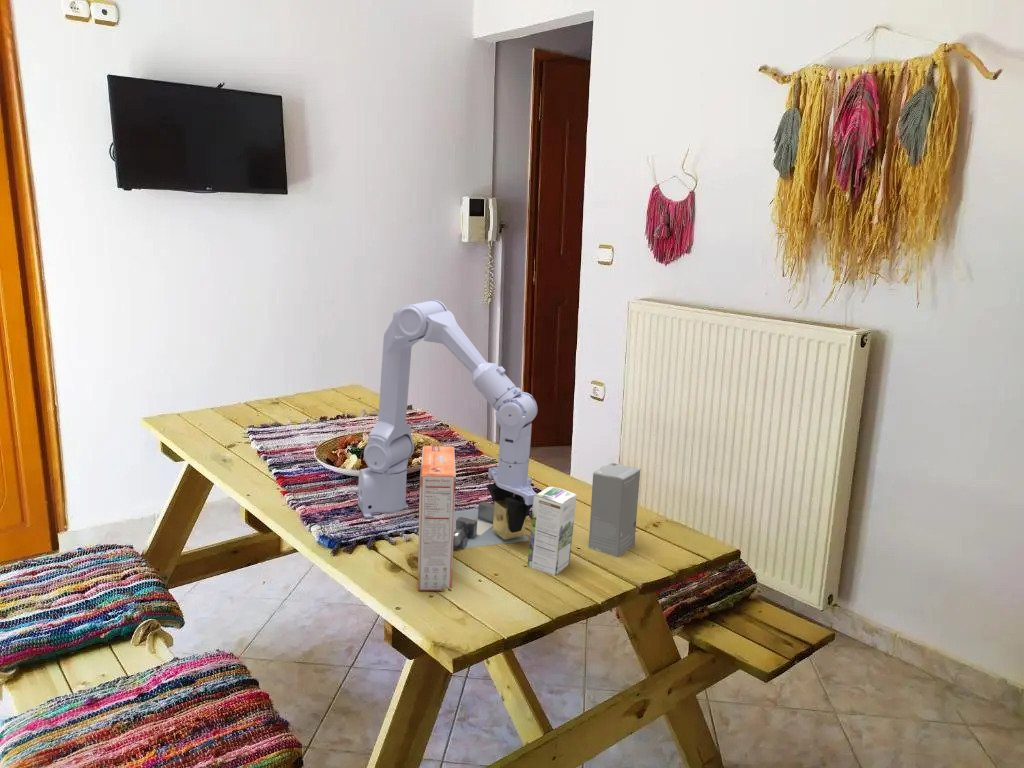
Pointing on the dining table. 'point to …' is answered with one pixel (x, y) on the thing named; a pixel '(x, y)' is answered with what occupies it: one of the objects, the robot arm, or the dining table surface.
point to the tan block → (504, 521)
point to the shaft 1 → (464, 532)
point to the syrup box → (551, 530)
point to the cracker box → (436, 518)
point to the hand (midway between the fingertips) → (508, 525)
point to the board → (484, 531)
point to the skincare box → (614, 509)
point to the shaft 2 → (486, 512)
